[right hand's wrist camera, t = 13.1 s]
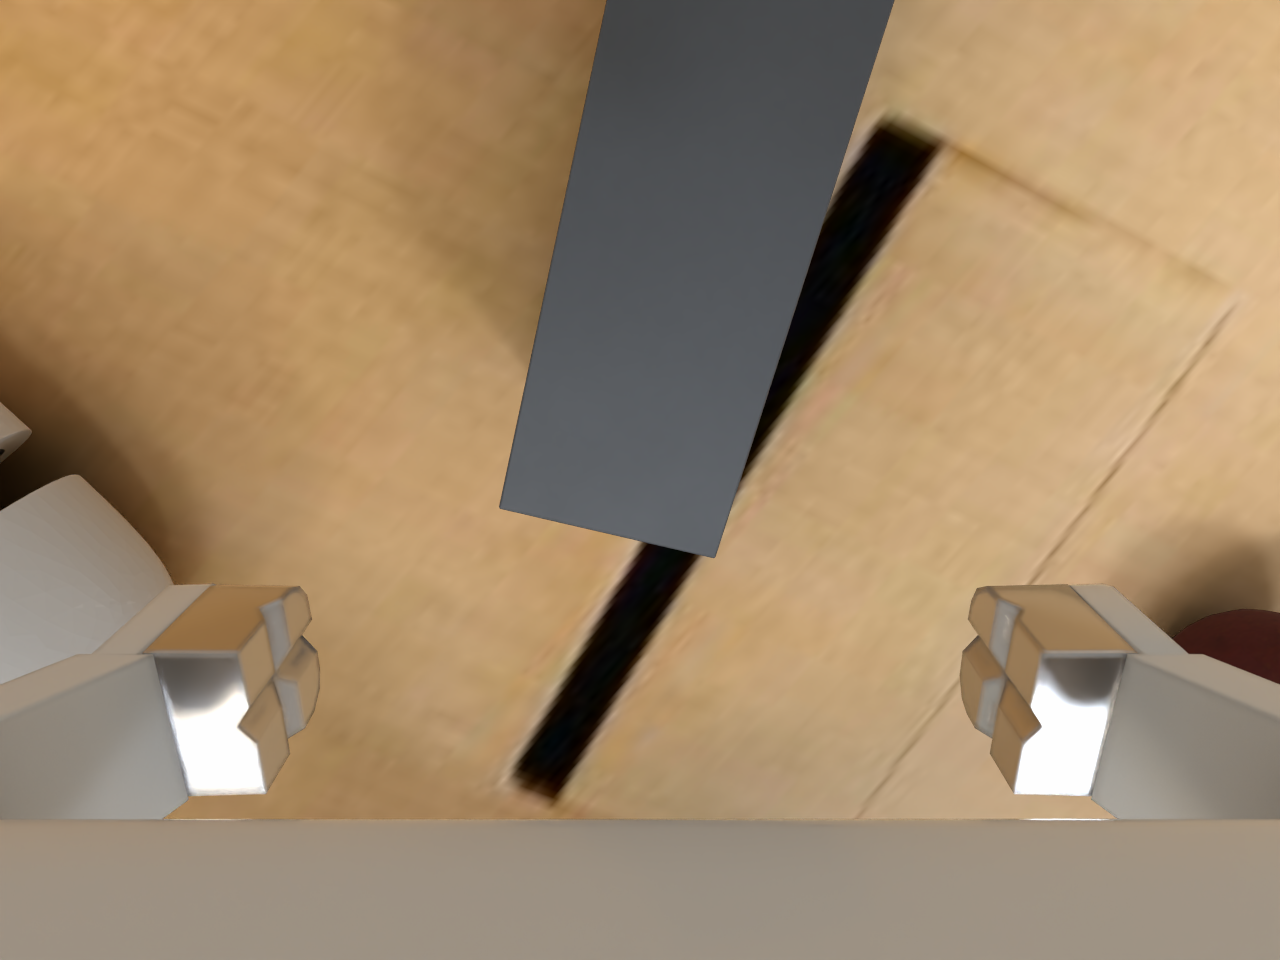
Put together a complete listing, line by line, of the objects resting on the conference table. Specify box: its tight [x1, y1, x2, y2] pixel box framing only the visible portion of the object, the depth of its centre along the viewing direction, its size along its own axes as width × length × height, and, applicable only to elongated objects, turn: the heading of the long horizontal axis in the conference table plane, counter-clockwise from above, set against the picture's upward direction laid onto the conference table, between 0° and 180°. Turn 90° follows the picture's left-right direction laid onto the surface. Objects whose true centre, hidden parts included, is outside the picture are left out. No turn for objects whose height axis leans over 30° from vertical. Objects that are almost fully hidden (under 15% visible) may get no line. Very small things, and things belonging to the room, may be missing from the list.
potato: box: [1172, 609, 1280, 684], centre depth 33 cm, size 7×8×7 cm
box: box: [499, 0, 894, 558], centre depth 23 cm, size 20×6×12 cm, turn 166°
